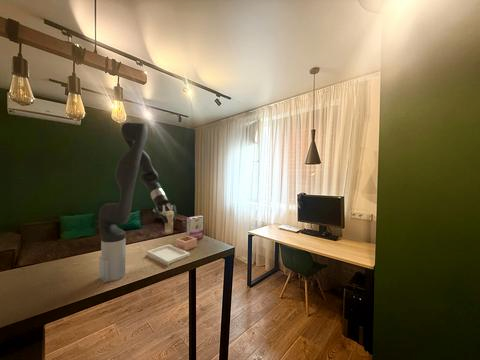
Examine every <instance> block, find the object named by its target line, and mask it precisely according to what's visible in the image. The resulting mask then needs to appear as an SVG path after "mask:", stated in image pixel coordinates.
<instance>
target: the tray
mask: <svg viewBox="0 0 480 360" xmlns="http://www.w3.org/2000/svg"><path fill="white" fill-rule="evenodd" d="M146 253H147V255H146V256H147V257H150V259H151V258H152V259H153V260H155V261H157V262H159V263H161V264H163V265H164V266H166V267H169V266H172V265H171V264H172V263H175V262H177V261H180V260H182V259H184V258H187V257H190V255H191V253H190V252H189V251H187V250H186V251H184V250H182V249H179V248H177V247H175V246H174V245H173V244H166V245H162V246H159V247H156V248H153V249H149V250H147V252H146Z"/></svg>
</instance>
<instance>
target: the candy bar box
mask: <svg viewBox="0 0 480 360" xmlns="http://www.w3.org/2000/svg"><path fill="white" fill-rule="evenodd" d="M187 235H188V236H191V237H194V238H197V240H199V239H204V216H203V215H195V216H189V217H186V236H187Z"/></svg>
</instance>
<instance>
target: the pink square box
mask: <svg viewBox="0 0 480 360" xmlns="http://www.w3.org/2000/svg"><path fill="white" fill-rule="evenodd" d="M174 240H175V241H174V243H175V244H174V245H175V246H174V247H177V248H179V249H182V250H184V251H186V252H187V251H189V250H191V249H193V248H197V246H198V239H197V238H194V237H191V236H188V235H187V234H186V235H184V236H180V237H178V238H175V239H174Z"/></svg>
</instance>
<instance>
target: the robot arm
mask: <svg viewBox="0 0 480 360" xmlns="http://www.w3.org/2000/svg"><path fill="white" fill-rule="evenodd" d="M120 129H121V134H122V137H123V139H124V141H125V142H126V144H127V146H128V148H129V149H128V151H126V153H124V154H123V155H122V156H121V157H120V159H118V161H117V164H116V168H115V171H114V177H115V180H116V183H117V185H118V188H119V192H120V198H119V203H118V202H117V203H116V202H115V203H114V202H112V203H111V202H107V203H104V204H103V205H101V207H100V209H99V212H98V231H99V235H100V241H101V242H100V243H101V244H100V249H101V250H100V254H101V256H99V257H98V258H99V259H98V261H99V264H98V265H99V267H98V268H99V269H98V270H99V271H98V278H99V279H100V280H101V281H102V282H103V283H104V284H105V283H108V282H114V281H115V282H116V281H118V280H120V279H122V278H123V277H125V275H126V252H127V251H126V247H127V246H126V245H127V244H126V241H127V239H126V237H127V234H126V233H127V232H126V231H125V230H123V229H121V228H120V227H118V225H120V226H121V225H125V224H126V223H127V222H128V221H129V219H130V217H131V212H132V205H133V197H134V190H135V186H136V181H137V178H138V175H139V174H138V173H139V171H140V172H142V173H141V174H140V176H139V180H140V182H141V183H142V184H143V185H144V186H145V187H146V188H147V190H148V192H149V194H150V198H151V199H152V201H153V203H154V205H155V207H153V209H152V212H153V213H154V215H155V216H156V218H158V219H162V220H163V223H164V224H165V223H168V219H167V217H166V216H165V211H173V223H175V222H176V221H177V217H176V214H177V212H178V210H177V207H176V204H173V205H172V204H171V203H170V202H169V199H168V197H167V195H166V193H165V191H164V189H163V188H162V186H161V184H160V183H159V182H157V181H158V180H159V179H160V178H159V177H160V176H159V174H158V172H157V171H156V169H155V168H154V167H153V164H152V161H151V158H150V156H149V154H148V153H147V152H146V151H145V150H144V149H145V146H146V143H147V140H148V139H147V138H148V135H149V134H148V133H149V131H148V127H147V125H146V124H145V123H141V122H124V123H123V124H122V126H121V128H120Z"/></svg>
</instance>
